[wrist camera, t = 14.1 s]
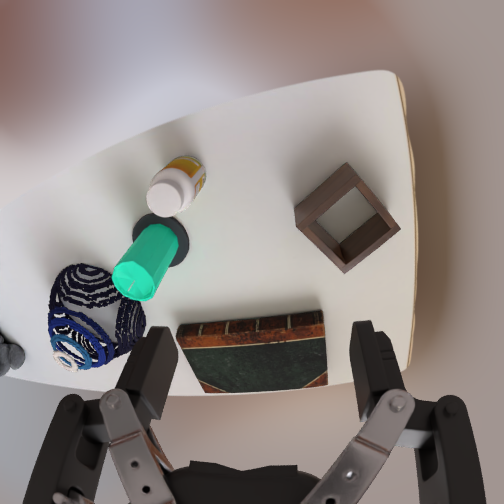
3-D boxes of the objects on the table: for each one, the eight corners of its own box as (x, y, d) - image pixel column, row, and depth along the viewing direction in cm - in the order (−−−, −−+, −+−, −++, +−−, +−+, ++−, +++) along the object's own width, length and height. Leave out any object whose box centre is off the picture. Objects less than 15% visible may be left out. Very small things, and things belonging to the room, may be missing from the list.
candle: (186, 240, 45) (160, 291, 34) (165, 266, 47) (138, 317, 37) (153, 215, 43) (117, 259, 33) (134, 242, 45) (99, 289, 35)
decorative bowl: (148, 354, 60) (126, 410, 47) (68, 330, 59) (38, 377, 47) (143, 278, 49) (108, 339, 37) (49, 255, 49) (5, 302, 37)
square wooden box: (293, 208, 42) (295, 226, 37) (346, 162, 38) (356, 174, 33) (338, 252, 44) (344, 274, 40) (388, 211, 40) (401, 229, 36)
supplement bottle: (161, 163, 40) (132, 187, 31) (197, 149, 38) (174, 168, 30) (177, 198, 42) (153, 229, 34) (212, 185, 41) (195, 215, 32)
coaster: (124, 240, 46) (122, 242, 46) (154, 200, 42) (152, 202, 42) (167, 275, 49) (166, 277, 48) (201, 240, 45) (200, 242, 45)
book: (207, 380, 62) (326, 372, 58) (204, 394, 59) (328, 386, 55) (179, 322, 54) (322, 308, 50) (174, 336, 51) (324, 323, 47)
